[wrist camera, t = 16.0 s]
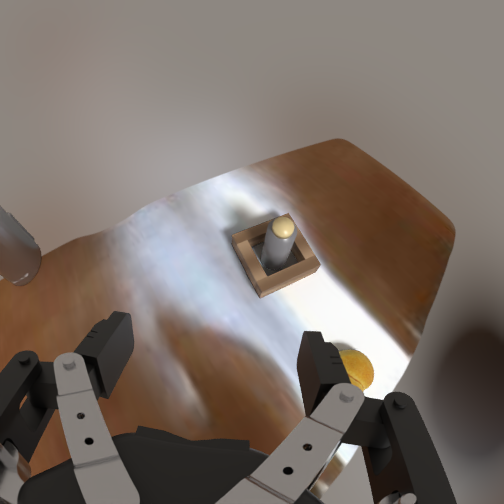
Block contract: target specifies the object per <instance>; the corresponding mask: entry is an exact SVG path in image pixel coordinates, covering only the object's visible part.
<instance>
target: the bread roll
mask: <svg viewBox="0 0 504 504" xmlns="http://www.w3.org/2000/svg"><path fill="white" fill-rule="evenodd" d="M339 354H340V356H341V358H342V361H343V364H344V366H345V368H346V371H347V373H348V376H349V378H350V381H351V384H353V385H355V386H357V387H359V388H360V389H361V390H362V391H364V390H365V389H366V388H368V387H369V386H370V385H371V384H372V382H373V378H374V370H373V366H372V364H371V362H370V361H369V359H368V358H367V357H366V356H365V355H364V354H363V353H361V352H360V351H357V350H342V351H339Z"/></svg>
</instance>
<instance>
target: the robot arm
mask: <svg viewBox="0 0 504 504" xmlns="http://www.w3.org/2000/svg"><path fill="white" fill-rule="evenodd" d="M40 263H41V251H40V248H39V246H38V245H37V244H36V243H35V242H34V238H33V237H32V236H31V235H30V234H29V233H28V232H27V231H26V230H25V228H24V227H23V226H22V225H21V224H20V223H19V222H18V221H17V220H16V219H15V218H14V217H13V216H12V215H11V213H6V211H5V210H4V209H3V208H2V207H1V206H0V275H1V276H3V277H4V278H6V279H7V280H8V281H10V282H11V283H13V284H14V285H17V286H22V285H25V284H27V283H28V282H30V281H31V280H32V279H33V278H34V276H35V275H36V273H37V271H38V269H39V267H40ZM133 349H134V336H133V329H132V320H131V315H130V314H129V313H125V312H118V311H114V312H113V313H112V314H111V315H110V317H109V318H108V319H107V320H105V319H103V320H102V321H100V322H98V323H97V324H95V325H94V327H93V328H92V329H91V332H89V333H88V334H87V337H85V338H84V339H83V341H82V342H81V343H80V344H79V346H78V347H77V348H76V350H75V351H74V352H73V353H64V354H62V355H60V356H58V357H57V358H56V359H55V361H54V362H40V361H39V358H38V356H37V354H36V353H35V352H33V351H22V352H19V353H17V354H16V355H15V356H14V357H13V358H12V359H11V360H10V362H9V363H8V364H7V365H6V366H5V368H4V369H3V370H2V371H1V373H0V504H324V503H323V502H322V501H321V500H320V499H318V498H317V497H316V496H315V495H314V494H313V493H311V492H310V489H311V488H312V487H313V485H314V484H315V482H316V481H317V480H318V478H319V477H320V475H321V474H322V472H323V471H324V469H325V468H326V466H327V465H328V464H329V462H330V461H331V459H332V458H333V456H334V455H335V453H336V452H337V450H338V448H339V447H340V445H341V444H342V443H346V444H352V445H359V446H361V447H362V451H363V455H364V460H365V464H366V468H367V473H368V477H369V482H370V486H371V491H372V496H373V501H374V504H457V503H456V500H455V497H454V494H453V492H452V489H451V487H450V484H449V481H448V478H447V476H446V473H445V471H444V468H443V466H442V463H441V461H440V458H439V456H438V454H437V451H436V449H435V447H434V444H433V442H432V440H431V437H430V435H429V433H428V431H427V428H426V426H425V424H424V422H423V420H422V417H421V415H420V413H419V411H418V409H417V407H416V405H415V403H414V401H413V399H412V398H411V397H410V396H408V395H407V394H405V393H401V392H391V393H389V394H387V395H386V396H385V398H384V400H380V399H373V398H368V397H365V396H364V393H363V391H362V390H361V389H360V388H359V387H357V386H355V385H353V384H351V381H350V378H349V376H348V373H347V371H346V368H345V366H344V364H343V361H342V358H341V356H340V354H339V351H338V349H337V348H336V347H335V346H334V345H333V344H332V343H331V342H324V339H323V336H322V334H321V332H316V331H304V333H303V336H302V340H301V345H300V349H299V354H298V358H297V372H298V377H299V382H300V387H301V393H302V398H303V403H304V408H305V414H306V416H305V417H304V418H303V419H302V420H301V422H300V423H299V424H298V425H297V426H296V427H295V429H294V430H293V431H292V432H291V433H290V434H289V435H288V437H287V438H286V439H285V440H284V441H283V442H282V443H281V444H280V445H279V446H278V448H277V449H276V450H275V451H274V452H273V453H272V454H271V455H270V456H269V455H267V454H265V453H263V452H261V451H258V450H255V449H252V448H249V440H234V439H211V440H198V441H191V440H187V439H185V438H182V437H179V436H176V435H174V434H171V433H169V432H166V431H163V430H158V429H153V428H148V427H143V426H138V428H137V431H136V433H124V434H120V435H116V436H113V437H111V436H110V434H109V431H108V429H107V426H106V424H105V421H104V419H103V416H102V414H101V411H100V408H99V406H98V403H97V400H98V398H99V397H103V398H107V399H109V397H110V395H111V393H112V391H113V389H114V387H115V385H116V383H117V381H118V379H119V377H120V375H121V373H122V371H123V369H124V367H125V365H126V364H127V362H128V360H129V358H130V356H131V354H132V352H133ZM25 395H26V396H27V399H26V400H25V402H24V404H23V405H22V407H21V408H20V409H19V407H20V403H21V401H22V400H23V398H24V397H25ZM55 409H59V412H60V417H61V421H62V425H63V429H64V433H65V437H66V441H67V444H68V448H69V451H70V454H71V457H72V458H71V459H69V460H67V461H65V462H63V463H61V464H59V465H57V466H55V467H52V468H50V469H48V470H46V471H44V472H42V473H40V474H37V475H35V476H33V477H31V478H30V476H31V468H30V465H29V462H30V459H31V457H32V455H33V453H34V451H35V449H36V447H37V444H38V442H39V440H40V438H41V436H42V434H43V432H44V430H45V428H46V426H47V424H48V422H49V420H50V418H51V417H52V415H53V413H54V411H55Z"/></svg>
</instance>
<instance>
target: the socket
mask: <svg viewBox="0 0 504 504" xmlns="http://www.w3.org/2000/svg"><path fill="white" fill-rule="evenodd" d="M280 217H287V218H289V219H290V220H292V221H293V219H292V218H291V216H290V215H289V213H288V214H285V215H282V216H280ZM272 220H273V219H272ZM270 221H271V220H269V221H267V222H264V223H261V224H259V225H256V226H254V227H251V228H248V229H246V230H243V231H241V232H238V233H236V234H233V235H232V246H233V248H234V250H235V252H236V253H237V255H238V257H239V259H240V261H241V263H242V265H243V267H244V269H245V271H246V273H247V275H248V277H249V279H250V280H251V282H252V284H253V286H254V288H255V290H256V292H257V294H258V296H259V298H262V297H264V296H266V295H268V294H271V293H273V292H275V291H277V290H279V289H281V288H284V287H286V286H288V285H290V284H292V283H294V282H296V281H298V280H300V279H303V278H305V277H307V276H309V275H311V274H313V273H315V272H316V271H317V269H318V268H319V266H320V265H321V264H320V262H319V261H318V259H317V258H316V256H315V254H314V253H313V251H312V249H311V248H310V246H309V245H308V243H307V241H306V240H305V238H304V237H303V235H302V233H301V232H300V230H299V229H298V227H297V226H296V227H297V236H296V238H295V241H294V243H293V246H292V248H291V251H292V253H293V255H294V256H295V258H296V260H297V261H298V263H296V264H294V265H292V266H290V267H287V268H285V269H283V270H281V271H279V272H276V273H274V274H272V275H270V276H267V275H266V273H265V272H264V270H263V268H262V266H261V264H260V262H259V261H258V259H257V257H256V255H255V253H254V251H253V250H252V248H251V247H253V246H255V245H258V244H260V243H262V242H264V241H265V236H266V232H267V227H268V224H269V222H270ZM293 222H294V221H293ZM294 224H295V222H294ZM295 225H296V224H295Z"/></svg>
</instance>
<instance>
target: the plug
mask: <svg viewBox="0 0 504 504" xmlns="http://www.w3.org/2000/svg"><path fill="white" fill-rule="evenodd" d="M296 236H297V227H296V225H295V224H294V222H293V221H292V220H290V219H289V218H287V217H277V218H274V219H273V220H271V221H270V222H269V224H268V227H267V232H266V236H265V241H264V245H263V250H262V254H261V262H262V264H263V265H264V267H266V268H267V269H269V270H279V269H281V268H282V267H283V266H284V265H285V263H286V260H287V258H288V255H289V253H290V250H291V248H292V246H293V243H294V241H295V238H296Z"/></svg>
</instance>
